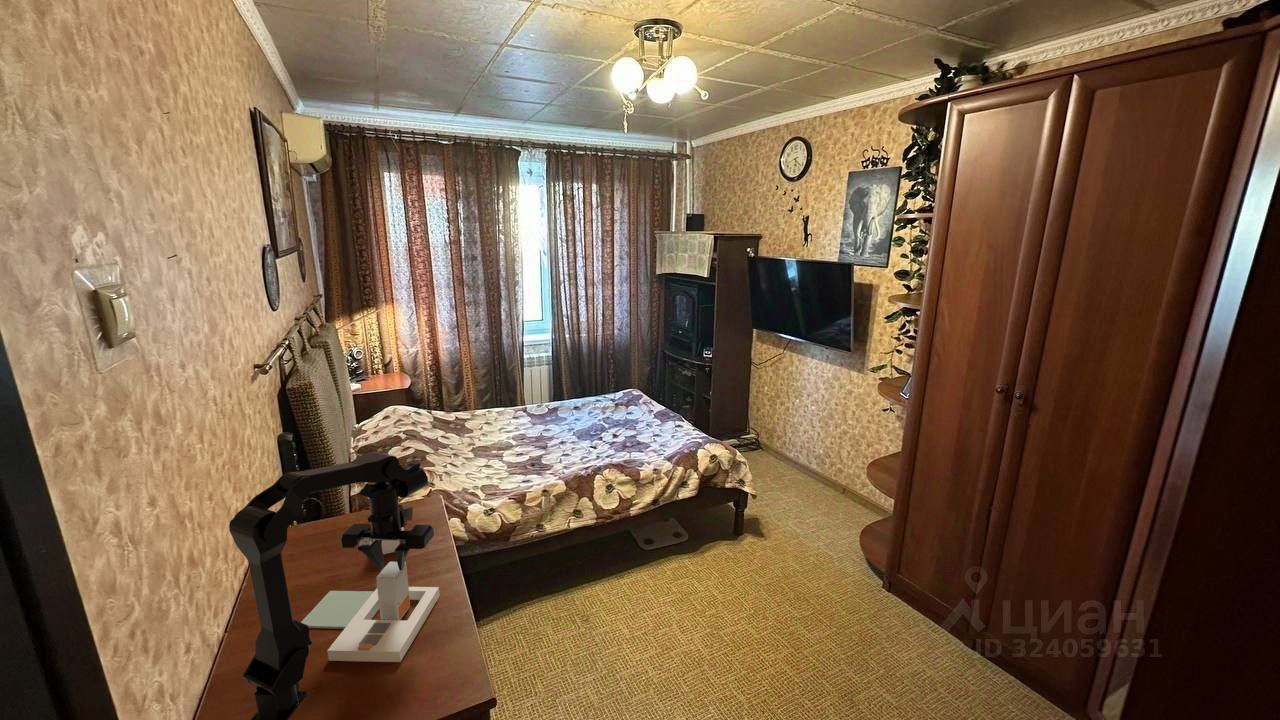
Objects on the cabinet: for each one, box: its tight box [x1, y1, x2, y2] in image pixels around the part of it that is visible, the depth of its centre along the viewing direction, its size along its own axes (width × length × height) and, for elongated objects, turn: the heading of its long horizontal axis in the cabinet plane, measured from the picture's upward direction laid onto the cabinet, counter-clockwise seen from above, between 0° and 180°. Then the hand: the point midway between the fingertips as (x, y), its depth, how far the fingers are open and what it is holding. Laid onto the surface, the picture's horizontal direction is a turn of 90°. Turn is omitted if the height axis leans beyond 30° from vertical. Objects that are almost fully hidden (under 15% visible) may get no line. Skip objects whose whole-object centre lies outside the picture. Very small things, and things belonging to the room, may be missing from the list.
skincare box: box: [375, 561, 411, 620], centre depth 119 cm, size 6×4×12 cm
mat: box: [300, 590, 375, 630], centre depth 122 cm, size 12×12×1 cm
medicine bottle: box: [382, 527, 405, 555], centre depth 146 cm, size 7×7×12 cm
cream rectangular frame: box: [327, 586, 440, 663], centre depth 117 cm, size 20×15×3 cm
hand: (391, 569), depth 118 cm, fingers closed on skincare box, 4 cm apart
